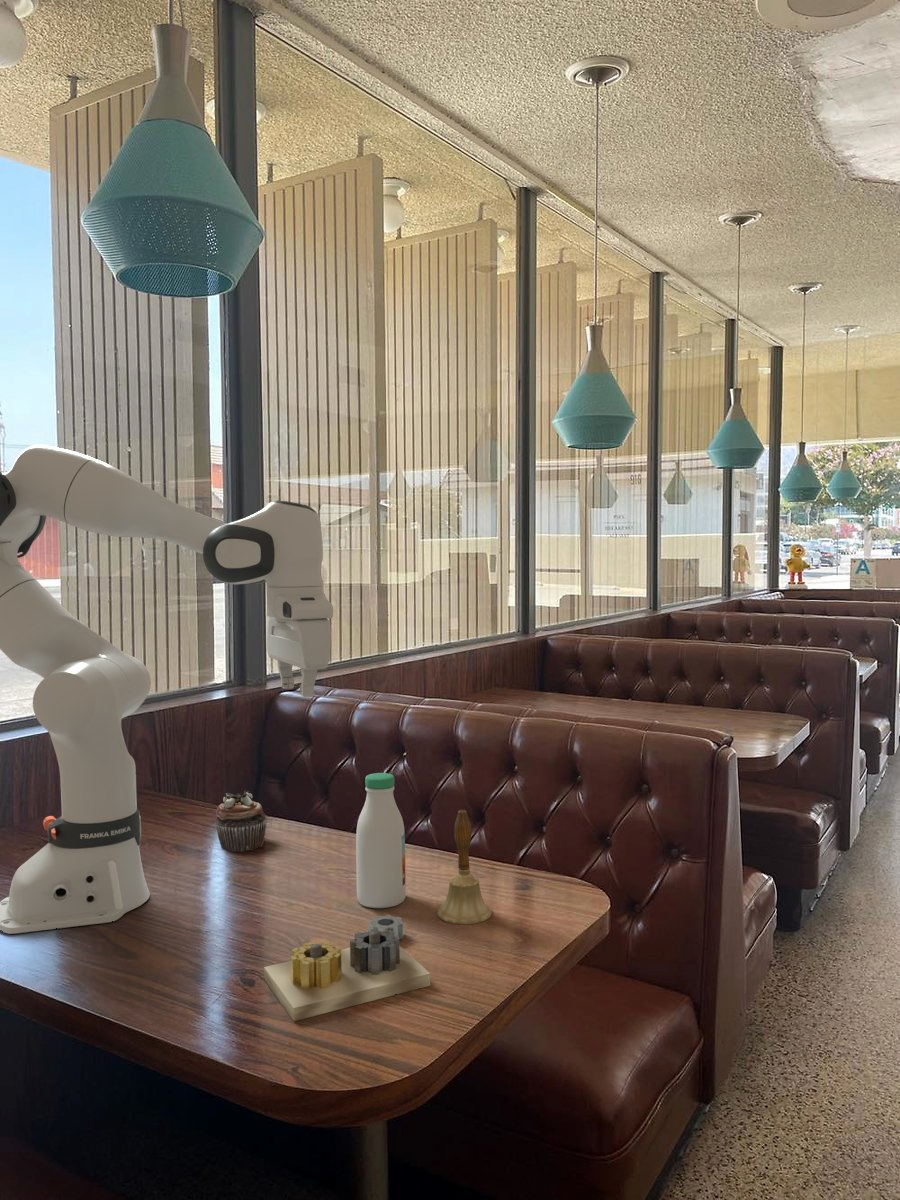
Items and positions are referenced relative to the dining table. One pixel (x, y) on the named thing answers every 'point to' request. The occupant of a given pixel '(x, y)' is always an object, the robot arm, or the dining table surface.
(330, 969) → the brass gear
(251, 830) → the cupcake
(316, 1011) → the gear board
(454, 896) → the hand bell
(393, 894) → the milk bottle
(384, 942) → the steel gear
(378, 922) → the zinc gear
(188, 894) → the dining table surface
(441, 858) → the dining table surface
